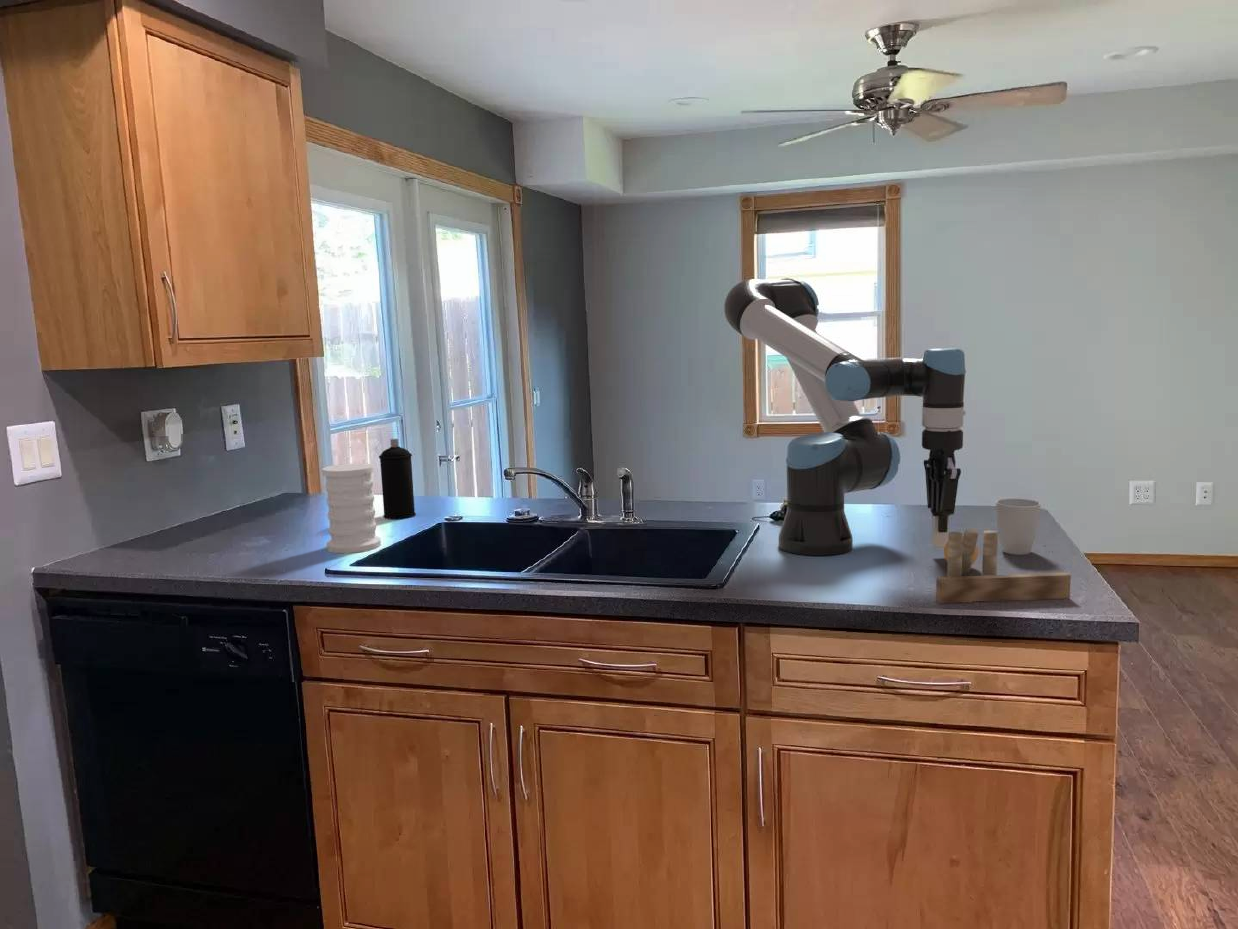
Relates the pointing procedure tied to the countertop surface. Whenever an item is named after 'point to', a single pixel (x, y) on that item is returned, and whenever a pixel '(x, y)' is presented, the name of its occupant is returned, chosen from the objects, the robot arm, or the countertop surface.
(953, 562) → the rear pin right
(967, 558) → the front pin
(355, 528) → the decorative container
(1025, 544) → the cup
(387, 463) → the aerosol can
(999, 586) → the back wall
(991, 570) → the rear pin left
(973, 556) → the ball
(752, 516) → the countertop surface
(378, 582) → the countertop surface
